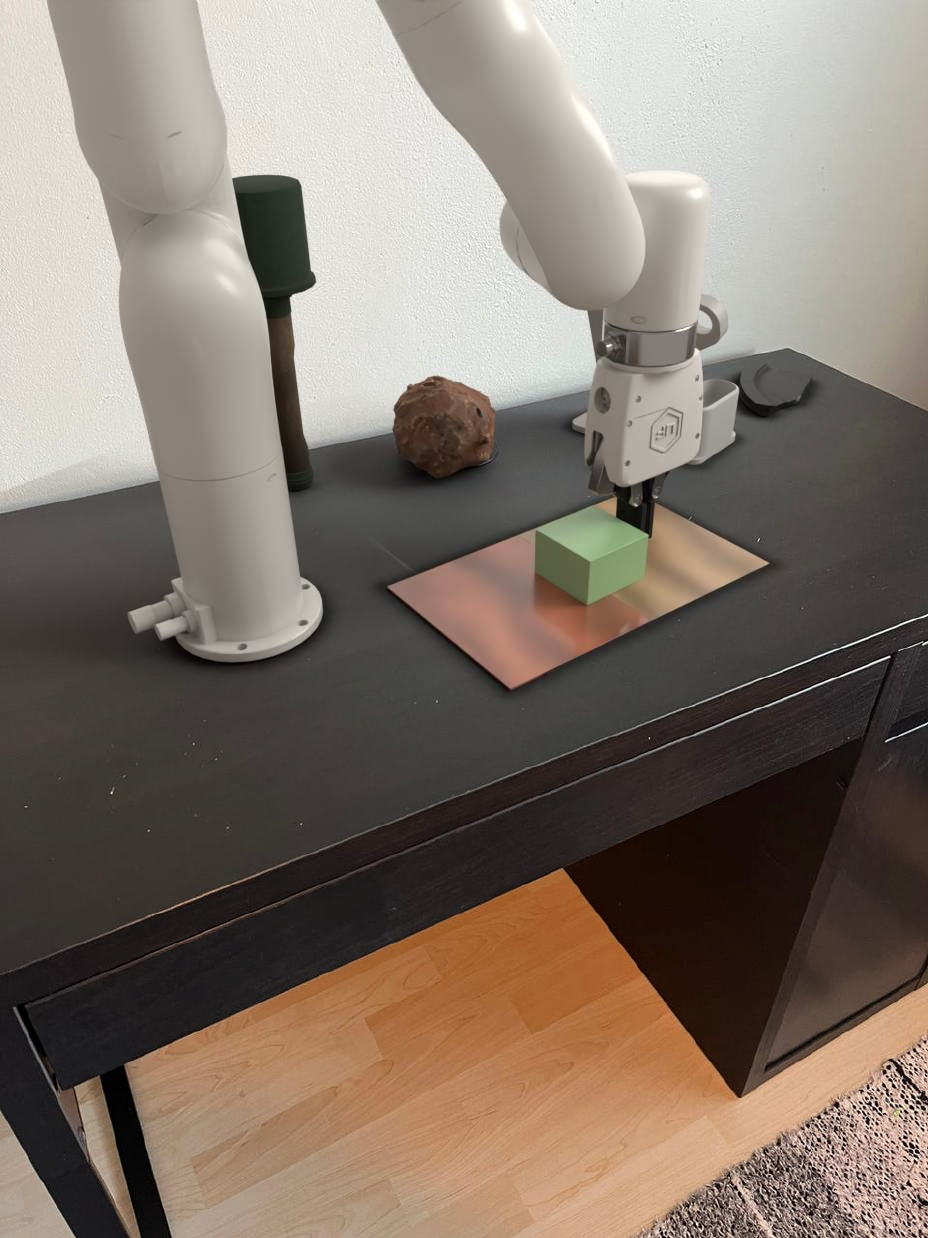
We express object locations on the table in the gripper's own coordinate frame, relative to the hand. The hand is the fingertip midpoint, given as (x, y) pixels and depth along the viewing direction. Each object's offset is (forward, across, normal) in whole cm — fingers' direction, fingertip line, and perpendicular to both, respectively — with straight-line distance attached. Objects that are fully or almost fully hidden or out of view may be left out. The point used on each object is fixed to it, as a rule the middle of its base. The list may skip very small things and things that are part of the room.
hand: (633, 535), depth 88 cm
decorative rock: (+2, -3, +26) cm, 26 cm away
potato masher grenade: (+2, -18, +32) cm, 37 cm away
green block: (+2, -6, 0) cm, 6 cm away
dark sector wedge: (+3, +41, +18) cm, 45 cm away
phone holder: (+3, +21, +18) cm, 28 cm away
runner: (+2, -6, 0) cm, 7 cm away
